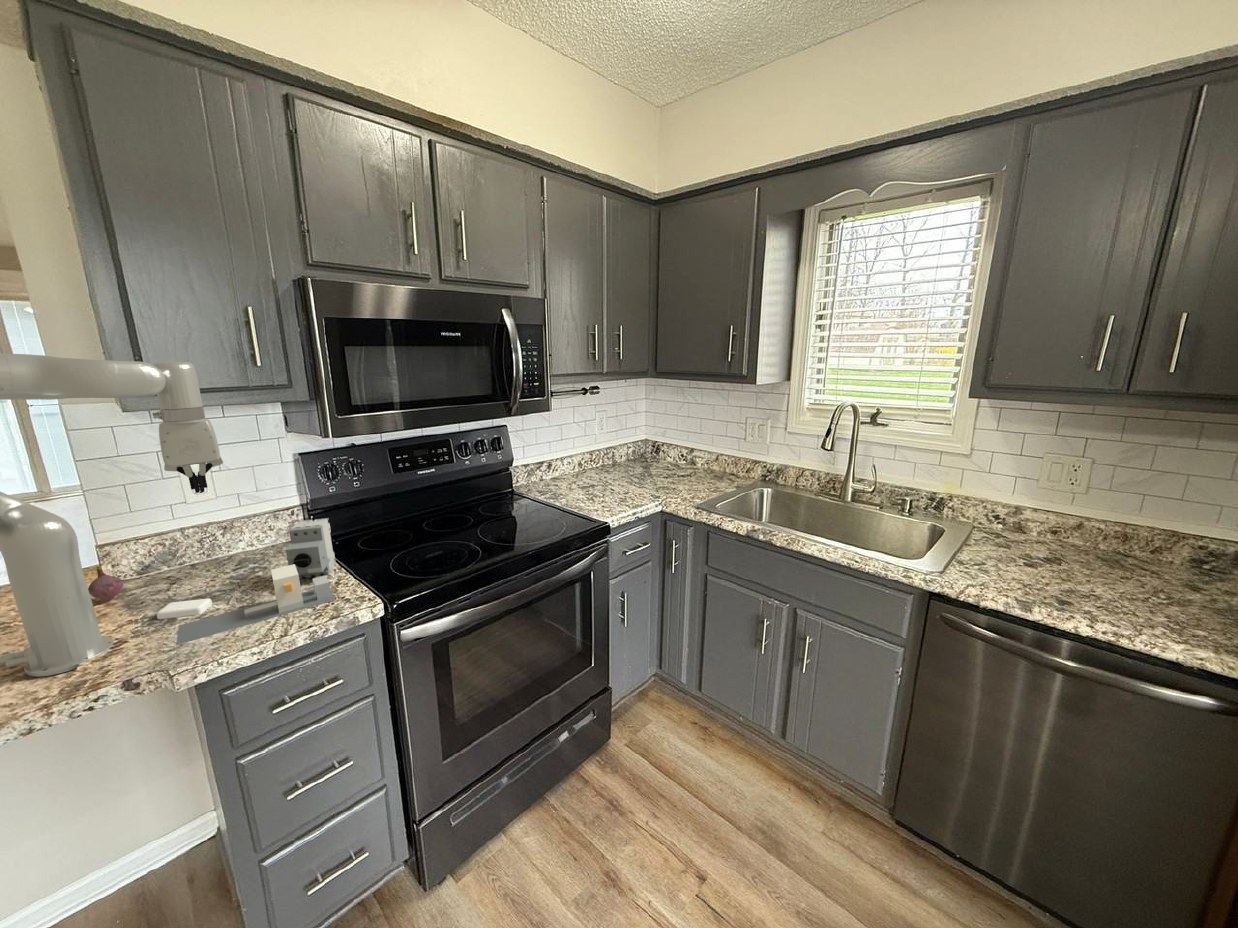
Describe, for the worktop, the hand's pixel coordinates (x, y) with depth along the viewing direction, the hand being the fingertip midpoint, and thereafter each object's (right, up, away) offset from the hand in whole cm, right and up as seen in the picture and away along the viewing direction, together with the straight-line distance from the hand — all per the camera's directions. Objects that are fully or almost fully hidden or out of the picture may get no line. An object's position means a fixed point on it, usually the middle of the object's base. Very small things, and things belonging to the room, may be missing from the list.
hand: (200, 491), depth 119 cm
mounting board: (+15, -30, -1) cm, 33 cm away
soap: (-4, -30, 0) cm, 31 cm away
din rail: (+19, -28, +2) cm, 34 cm away
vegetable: (-30, -29, +8) cm, 42 cm away
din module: (+20, -28, +3) cm, 34 cm away
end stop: (+25, -27, +7) cm, 38 cm away
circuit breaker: (+16, -25, +19) cm, 35 cm away
